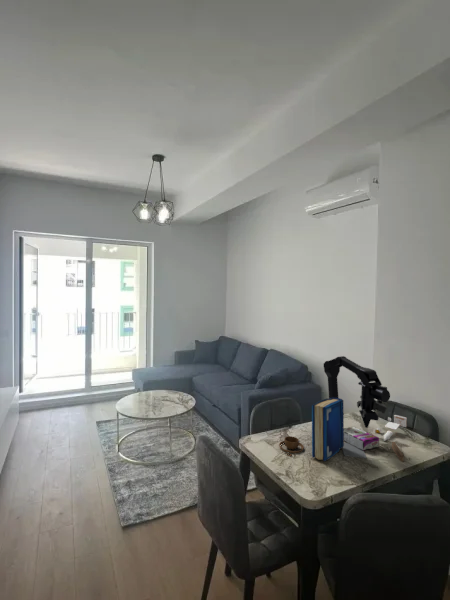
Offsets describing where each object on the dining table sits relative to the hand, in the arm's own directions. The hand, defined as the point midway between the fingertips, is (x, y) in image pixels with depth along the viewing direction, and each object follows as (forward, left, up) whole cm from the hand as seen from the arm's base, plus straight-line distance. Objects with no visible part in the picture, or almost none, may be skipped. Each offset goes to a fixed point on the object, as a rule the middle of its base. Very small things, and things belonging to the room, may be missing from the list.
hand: (366, 427), depth 161 cm
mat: (-6, 0, -12) cm, 13 cm away
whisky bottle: (+18, +29, -13) cm, 36 cm away
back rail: (+15, +1, -12) cm, 19 cm away
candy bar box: (+3, +2, -9) cm, 10 cm away
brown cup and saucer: (-32, -7, -13) cm, 35 cm away
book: (-17, -6, -12) cm, 22 cm away
